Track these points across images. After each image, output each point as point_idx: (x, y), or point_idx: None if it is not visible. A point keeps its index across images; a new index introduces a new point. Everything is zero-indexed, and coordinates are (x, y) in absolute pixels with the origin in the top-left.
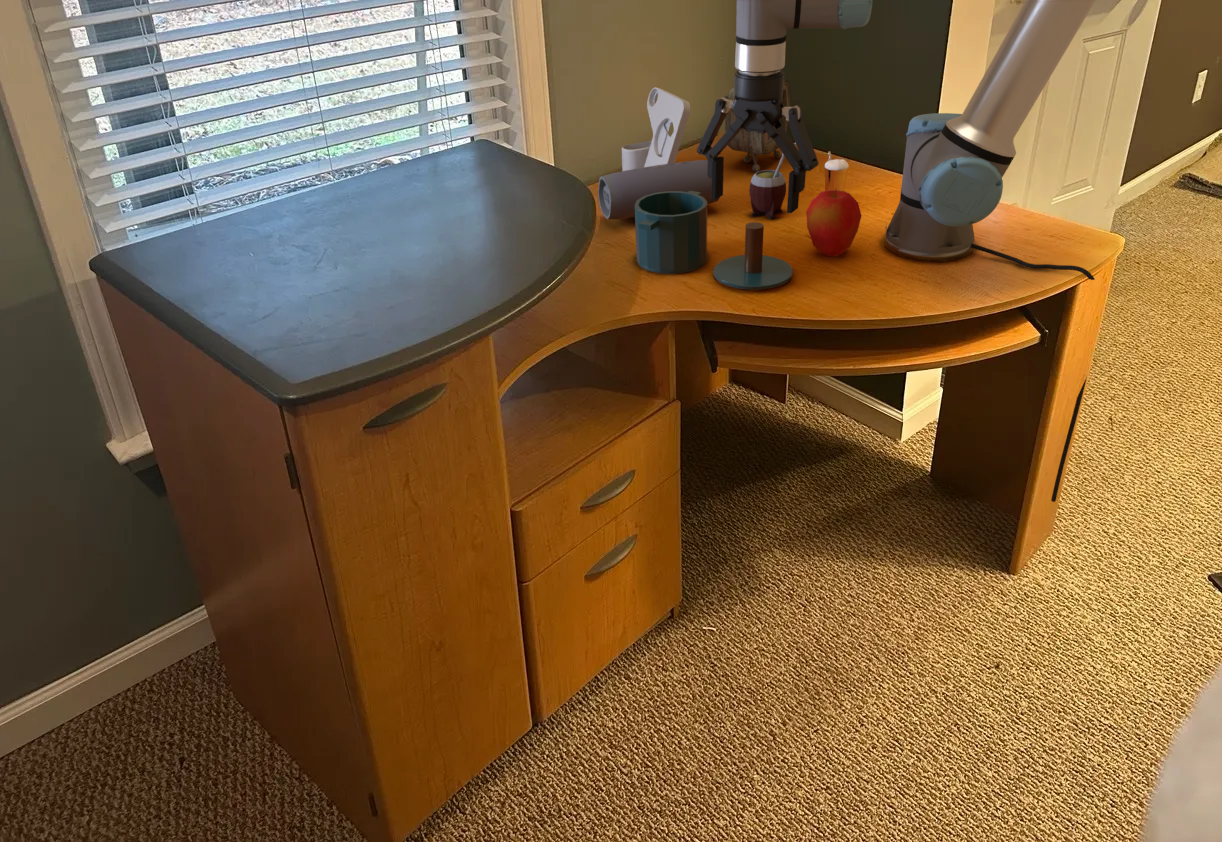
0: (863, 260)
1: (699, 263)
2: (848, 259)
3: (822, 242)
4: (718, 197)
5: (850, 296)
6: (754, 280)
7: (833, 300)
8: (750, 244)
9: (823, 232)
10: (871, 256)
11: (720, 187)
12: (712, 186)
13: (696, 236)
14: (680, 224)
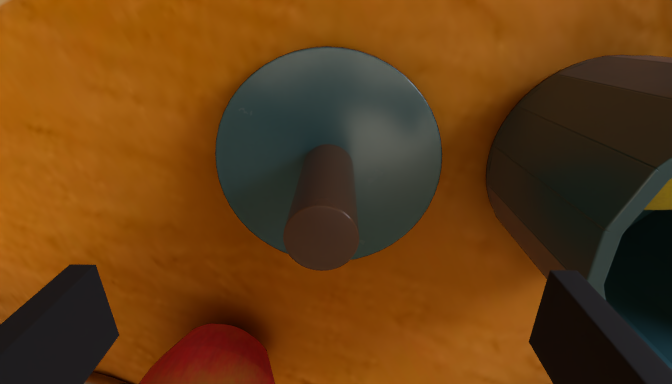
0: (154, 336)
1: (495, 149)
2: (183, 329)
3: (211, 336)
4: (542, 303)
5: (53, 161)
6: (289, 103)
7: (69, 120)
8: (322, 178)
9: (196, 357)
10: (152, 356)
11: (565, 363)
12: (628, 332)
13: (548, 171)
14: (655, 128)
